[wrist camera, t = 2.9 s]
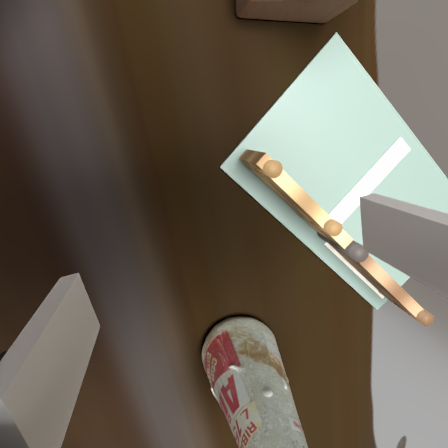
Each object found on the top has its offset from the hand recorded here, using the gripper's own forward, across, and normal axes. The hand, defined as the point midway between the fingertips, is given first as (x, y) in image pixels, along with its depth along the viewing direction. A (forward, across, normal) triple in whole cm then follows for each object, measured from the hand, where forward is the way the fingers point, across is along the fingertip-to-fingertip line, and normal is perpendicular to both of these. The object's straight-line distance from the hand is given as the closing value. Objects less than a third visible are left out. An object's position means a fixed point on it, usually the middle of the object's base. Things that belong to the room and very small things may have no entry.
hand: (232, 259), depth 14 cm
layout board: (+19, +18, -5) cm, 27 cm away
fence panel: (+18, +9, -2) cm, 20 cm away
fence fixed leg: (+19, +17, -13) cm, 29 cm away
